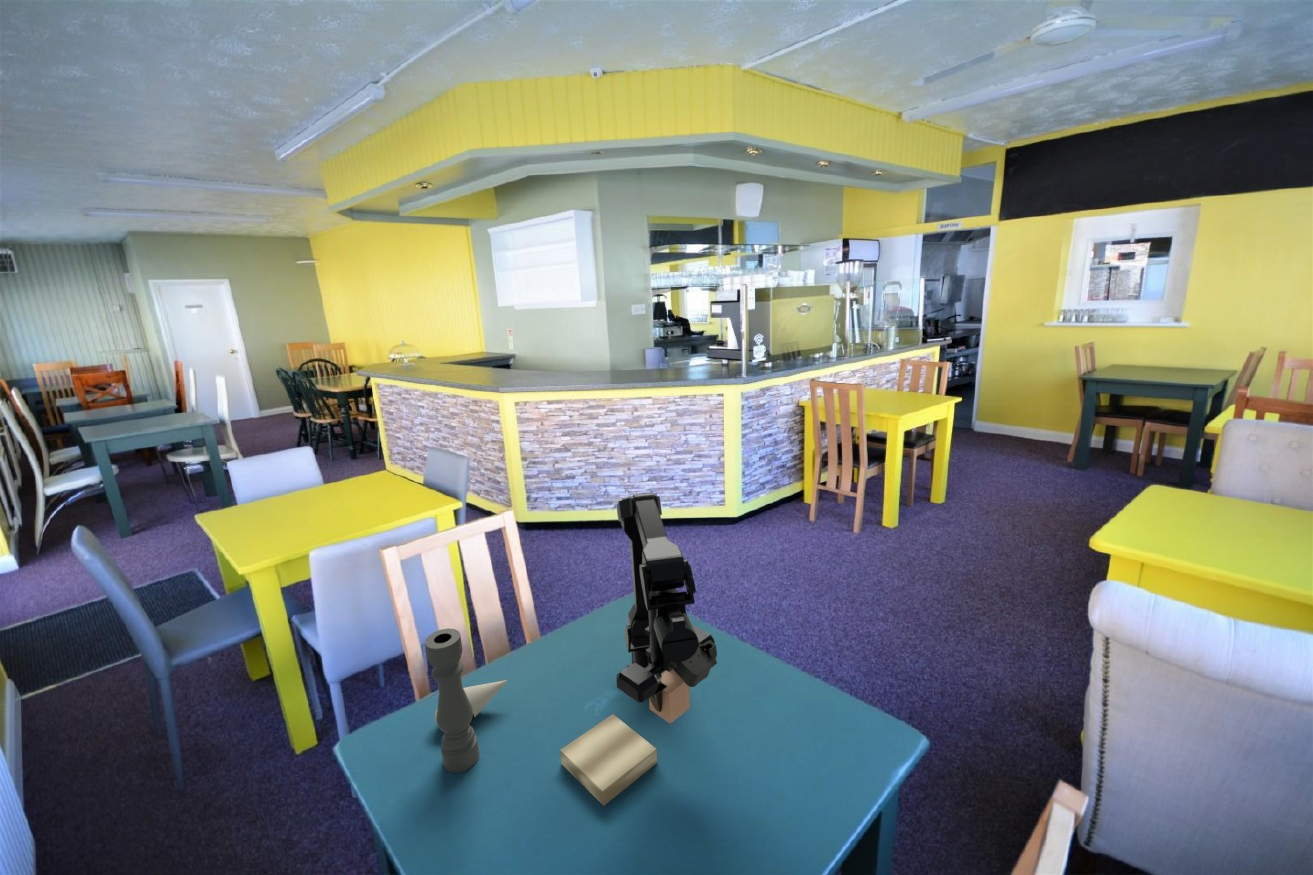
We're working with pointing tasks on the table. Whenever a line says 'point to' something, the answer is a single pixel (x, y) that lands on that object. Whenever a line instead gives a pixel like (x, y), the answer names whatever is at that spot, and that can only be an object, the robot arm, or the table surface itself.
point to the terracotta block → (673, 697)
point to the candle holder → (452, 701)
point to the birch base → (608, 758)
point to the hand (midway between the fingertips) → (669, 702)
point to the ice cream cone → (480, 695)
